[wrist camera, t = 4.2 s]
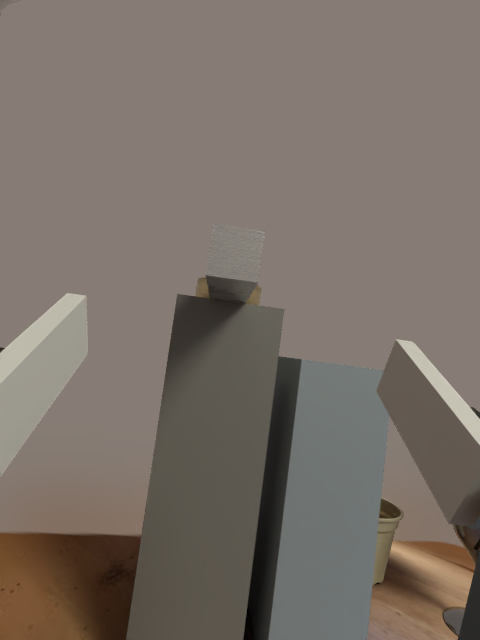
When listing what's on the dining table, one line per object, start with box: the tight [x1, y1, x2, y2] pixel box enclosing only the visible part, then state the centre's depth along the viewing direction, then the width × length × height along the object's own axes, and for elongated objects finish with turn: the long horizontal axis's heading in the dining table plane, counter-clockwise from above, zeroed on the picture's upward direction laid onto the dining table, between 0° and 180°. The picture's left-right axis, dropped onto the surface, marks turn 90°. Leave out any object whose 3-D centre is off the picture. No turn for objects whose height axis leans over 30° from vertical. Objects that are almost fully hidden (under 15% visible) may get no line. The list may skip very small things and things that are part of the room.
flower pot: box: [372, 497, 404, 586], centre depth 48 cm, size 9×9×9 cm
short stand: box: [248, 356, 389, 640], centre depth 38 cm, size 8×15×26 cm, turn 5°
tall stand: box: [126, 294, 284, 640], centre depth 37 cm, size 9×15×30 cm, turn 5°
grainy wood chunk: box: [195, 224, 265, 306], centre depth 33 cm, size 7×23×3 cm, turn 3°
